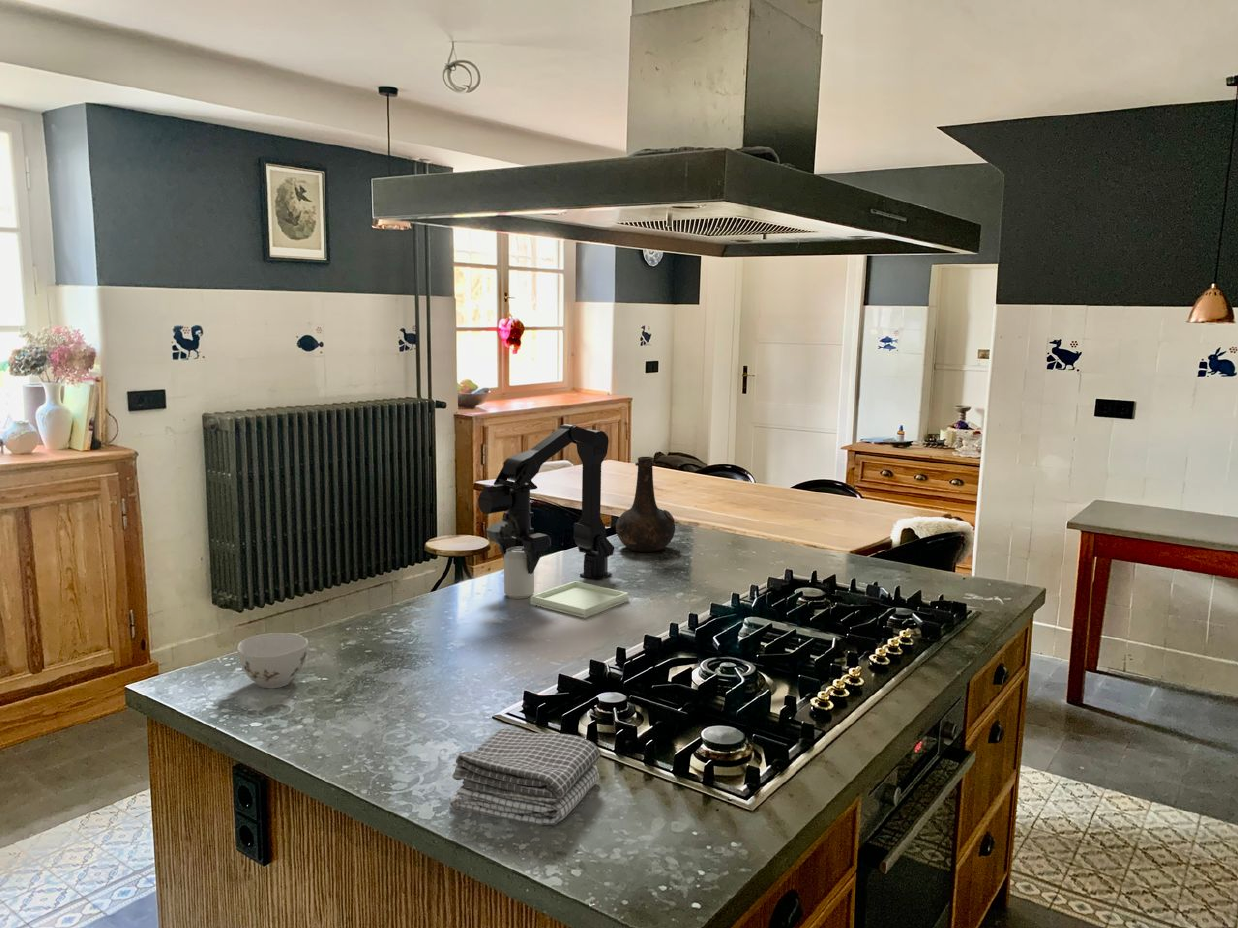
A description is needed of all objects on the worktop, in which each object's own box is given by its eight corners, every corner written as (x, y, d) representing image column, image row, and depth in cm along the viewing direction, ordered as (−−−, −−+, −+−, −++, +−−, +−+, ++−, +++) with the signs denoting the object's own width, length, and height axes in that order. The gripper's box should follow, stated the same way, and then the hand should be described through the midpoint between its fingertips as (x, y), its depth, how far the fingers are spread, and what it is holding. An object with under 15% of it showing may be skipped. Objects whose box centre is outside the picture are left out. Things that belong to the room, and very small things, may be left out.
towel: (562, 833, 126) (562, 779, 125) (444, 808, 133) (443, 756, 131) (602, 782, 141) (603, 733, 139) (493, 761, 147) (493, 714, 145)
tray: (575, 588, 240) (575, 580, 240) (628, 600, 230) (628, 592, 230) (530, 603, 226) (530, 595, 226) (585, 617, 216) (585, 609, 216)
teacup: (278, 700, 168) (276, 658, 167) (223, 690, 173) (221, 649, 171) (331, 671, 182) (329, 632, 181) (279, 662, 187) (277, 624, 185)
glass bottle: (669, 558, 271) (670, 463, 267) (609, 553, 275) (610, 460, 271) (679, 543, 288) (681, 454, 284) (623, 540, 292) (624, 451, 288)
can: (536, 591, 237) (536, 545, 235) (531, 600, 229) (530, 553, 227) (507, 590, 237) (507, 544, 236) (501, 599, 230) (500, 552, 228)
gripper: (469, 507, 231) (470, 568, 234) (515, 519, 218) (515, 583, 220) (506, 501, 239) (506, 560, 241) (552, 512, 225) (552, 575, 228)
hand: (519, 569), depth 232 cm, fingers open, 9 cm apart
